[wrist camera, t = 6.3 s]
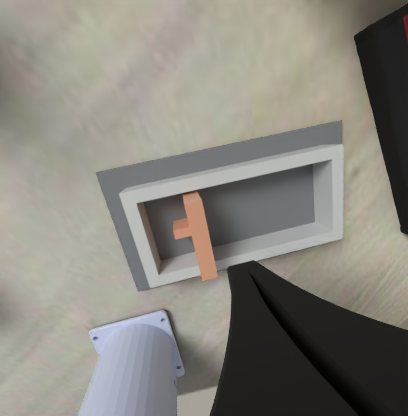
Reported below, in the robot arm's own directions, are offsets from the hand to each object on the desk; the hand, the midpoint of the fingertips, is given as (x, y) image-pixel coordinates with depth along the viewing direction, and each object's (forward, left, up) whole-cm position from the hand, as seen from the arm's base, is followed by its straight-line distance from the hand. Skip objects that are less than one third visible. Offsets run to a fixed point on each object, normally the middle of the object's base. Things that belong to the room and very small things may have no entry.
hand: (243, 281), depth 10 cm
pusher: (0, +2, -10) cm, 10 cm away
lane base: (0, -3, -10) cm, 11 cm away
